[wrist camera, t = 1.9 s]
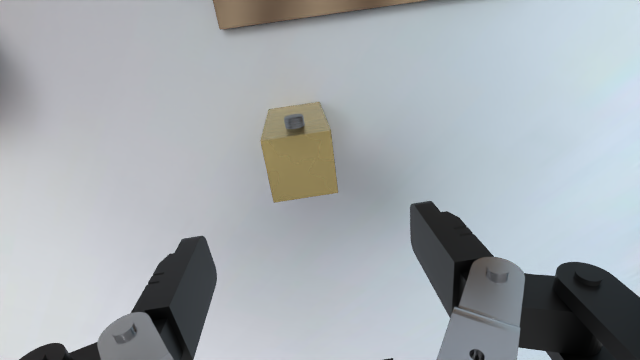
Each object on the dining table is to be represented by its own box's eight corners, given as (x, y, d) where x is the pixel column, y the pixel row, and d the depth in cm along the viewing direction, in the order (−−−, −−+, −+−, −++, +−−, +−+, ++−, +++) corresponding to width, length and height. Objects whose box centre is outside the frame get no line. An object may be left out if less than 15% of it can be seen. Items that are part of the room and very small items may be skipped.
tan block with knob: (279, 163, 28) (275, 210, 20) (267, 101, 25) (258, 130, 18) (326, 156, 28) (339, 201, 20) (318, 94, 25) (329, 120, 18)
